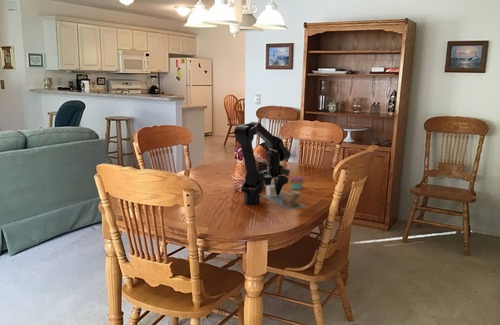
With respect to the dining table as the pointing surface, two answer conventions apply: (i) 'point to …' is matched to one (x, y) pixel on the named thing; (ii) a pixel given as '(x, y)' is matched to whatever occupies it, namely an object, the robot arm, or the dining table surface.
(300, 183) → the cupcake
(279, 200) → the flat grey tray
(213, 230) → the dining table surface
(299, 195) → the cube
